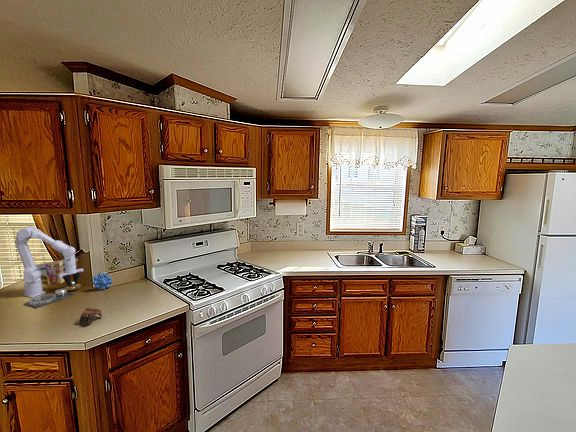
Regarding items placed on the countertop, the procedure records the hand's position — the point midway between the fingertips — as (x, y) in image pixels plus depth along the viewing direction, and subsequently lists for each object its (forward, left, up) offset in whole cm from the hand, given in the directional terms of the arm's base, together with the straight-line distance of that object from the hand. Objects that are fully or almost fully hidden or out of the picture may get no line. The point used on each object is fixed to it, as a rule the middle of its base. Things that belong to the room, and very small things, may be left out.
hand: (72, 284), depth 194 cm
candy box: (-26, +4, -4) cm, 27 cm away
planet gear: (0, 0, -2) cm, 2 cm away
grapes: (+19, +8, -4) cm, 21 cm away
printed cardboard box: (-42, +14, -4) cm, 45 cm away
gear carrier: (+4, -15, -4) cm, 16 cm away
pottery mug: (+55, -24, -4) cm, 60 cm away
